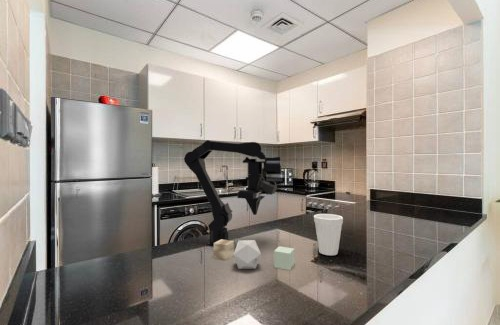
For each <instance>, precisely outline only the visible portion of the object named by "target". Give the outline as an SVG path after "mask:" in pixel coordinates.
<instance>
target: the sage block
mask: <svg viewBox="0 0 500 325" xmlns="http://www.w3.org/2000/svg"><path fill="white" fill-rule="evenodd" d="M294 265H295V248H294V247H286V246H278V247H277V248H275V249H274V251H273V268H274V269H275V268H276V269H282V270H286V271H291V270H292V268H293V267H294Z"/></svg>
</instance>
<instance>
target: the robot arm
mask: <svg viewBox="0 0 500 325" xmlns="http://www.w3.org/2000/svg"><path fill="white" fill-rule="evenodd" d="M214 151H215V152H223V153H233V154H234V153H235V154H241V155H245V156H246V157H245V159H243V160H242V164H247V176H246V177H245V180H246V181H247V187H245V189H240V190H238V192H237V194H236V196H237V199H245V201H246V202H247V204H248V206H249V209H250V210H251V212H252V215H253V216H254V215H255V216H256V215H257V214H258V211H259V207H260V203H261V201H262V200H263V199H265V197H266V196H265V194H266V195H274V194H275V193H276V191H277V189H278V185H277V182H276V181H274V180H271V181H270V182H269V181H266V179H265V177H264V176H263V172H264V173H266V175H268V176H269V175H278V176H279V175H280V176H281V175H282V163H281V157H280V156H276V157H275V156H274V157H267V155H266V154H265V153H264V151H263V146H262V145H261V144H260V143H259V142H256V141H250V142H249V141H248V142H247V141H246V142H241V143H237V142H225V141H224V142H223V141H216V140H215V141H214V140H209V139H207V140H205V141H204V142H203V143H201V144H200V145H199V146H196V147H194V149H192V150H191V151H188V152H186V154H185V155H184V157H183V161H184V163H185V165H186V166H187V167H188V169H189V170H190V171H191V172H192V173H193V174H194V175H195V176H196V178H197V180H198V183H199V184H200V186H201V188H202V190H203V192H204V194H205V197H206V199H207V200H208V203H209V204H210V207H211V214H212V218H213V220H212V221H211V222H210V223H209V224H208V225H207V227H208V229H209V242H207V245H208V246H213V247H214V243H215V242H217V241H219V240H221V239H223V240H229V232H228V228H227V225H228V224H229V223H230V222H231V221H232V219H233V209H231V207H230V204H229V203H228V202H227V203H224V202H223V201H222V199H221V198H220V195H219V194H218V191H217V189H216V187H215V185H214V183H213V182H212V180H211V178H210V175H209V174H208V172H207V169H206V162H205V160H206V158H207V157H208V156H209V155H210V154H211V153H212V152H214ZM249 157H251V158H249ZM257 158H258V159H259V160H261V161H259V160H257ZM263 194H264V195H263Z"/></svg>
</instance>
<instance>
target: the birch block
mask: <svg viewBox="0 0 500 325" xmlns="http://www.w3.org/2000/svg"><path fill="white" fill-rule="evenodd" d="M234 251H235V240H229V239H228V240H223V239H221V240H219V241H217V242H215V243H214V246H213V258H214V259H217V260H223V261H228V260H230V258H232V257H234V255H233V254H234Z"/></svg>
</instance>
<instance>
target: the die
mask: <svg viewBox="0 0 500 325" xmlns="http://www.w3.org/2000/svg"><path fill="white" fill-rule="evenodd" d="M237 241H238V242H237V245H236V247H235V248H234V254H233V255H234V256H233V257H234V261H235V263H236V266H237V269H238V270H256V268H257V266H258V263H259V260H260V257H261V255H262V252H261V251H260V249H259V247H258V243H257V242H256V239H253V240H252V239H250V240H249V239H245V240H244V239H243V240H241V239H238V240H237Z"/></svg>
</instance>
